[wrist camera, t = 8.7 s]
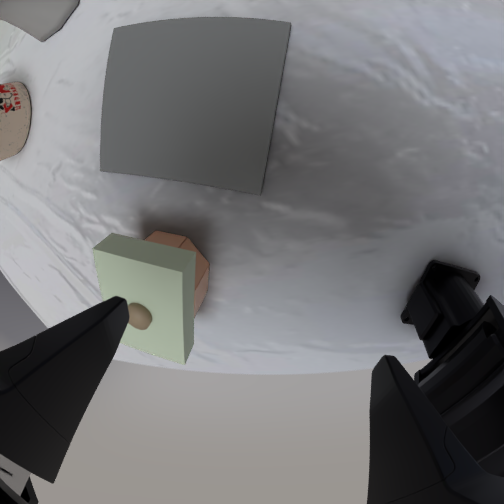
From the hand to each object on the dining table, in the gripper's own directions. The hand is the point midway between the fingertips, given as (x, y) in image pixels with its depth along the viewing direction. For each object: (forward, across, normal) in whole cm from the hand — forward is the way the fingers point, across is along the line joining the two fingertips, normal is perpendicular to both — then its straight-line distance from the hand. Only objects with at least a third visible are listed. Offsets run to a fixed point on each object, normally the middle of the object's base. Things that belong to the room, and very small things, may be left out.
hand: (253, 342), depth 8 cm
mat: (+12, +8, -7) cm, 16 cm away
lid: (+8, +8, +7) cm, 13 cm away
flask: (+12, +24, -18) cm, 32 cm away
